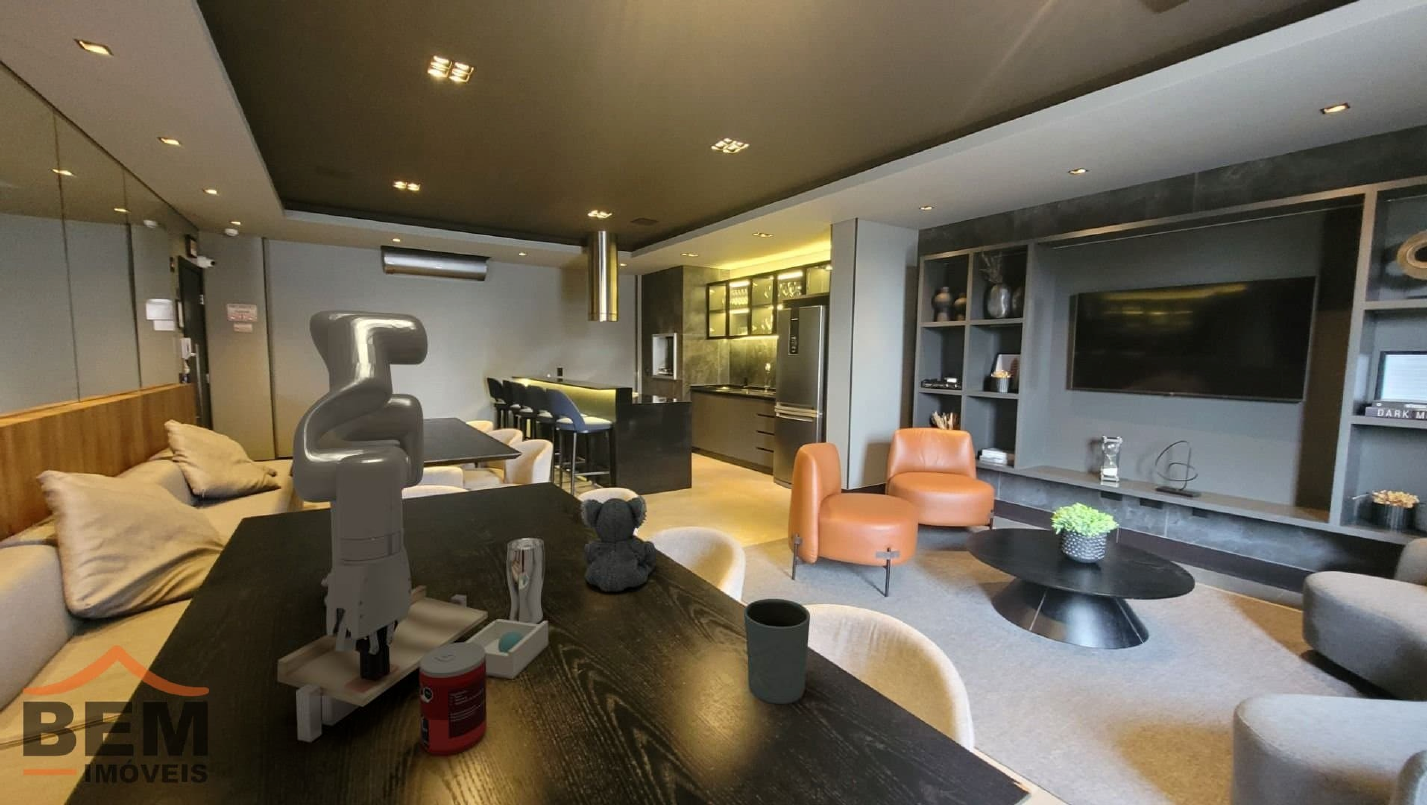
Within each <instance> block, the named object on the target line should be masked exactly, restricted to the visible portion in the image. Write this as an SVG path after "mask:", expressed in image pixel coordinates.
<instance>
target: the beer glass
mask: <svg viewBox="0 0 1427 805" xmlns="http://www.w3.org/2000/svg"><path fill="white" fill-rule="evenodd" d="M544 543H545V542H544V541H543V539H541V538H536V537H526V538H525V537H522V538H518V539H514V540H512V541H511V540H510V542H508V543H507V545H506V546H507V550H506V551H507V552H506V565H505V566H506V577H507V584H508V589H509V594H510V599H511V608H510V614H509V619H508V620H510V621H517V622H525V623H532V624H540V623H541V621H542V620H543V618H544V615H543V610H542V604H541V603H542V602H541V599H542V596H541V595H542V589H543V584H544V577H545V572H546V571H545V570H546V557H545V556H546V555H545V545H544Z"/></svg>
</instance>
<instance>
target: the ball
mask: <svg viewBox="0 0 1427 805" xmlns="http://www.w3.org/2000/svg"><path fill="white" fill-rule="evenodd" d="M522 639H523V637H522V636H521V635H520V634H519V633H517V632H508V633H506V634H504V635H503V636H502V637H501V639H500V641H499V644H498V649H499V652H503V653H508V651H509V650H510V649H512V648H513V647H514V646H515V645H516V644H517V643H518V642H520V641H521V640H522Z"/></svg>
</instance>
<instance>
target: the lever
mask: <svg viewBox="0 0 1427 805" xmlns="http://www.w3.org/2000/svg"><path fill="white" fill-rule="evenodd" d="M411 591H412V598H411V607H410V609H409V611H408V615H407V617H406V618H405V619H404V620H403V621H402V622H401V623H400V624H398V626H397V628H396V630H395V631H394V637H393V642H392V644H391V645H388V646H389V654H390V673H389V674H388V675H387V676H383V678H382V679H381V680H379V681H375V680H369V679H363V678H361V676H360V652H356V651H355V650H351V651H348V652H340V651H336V650H335V647H336V642H337V636H335V637H330V636H328V634H326V635H323V636H322V637H320V638H318V639H315V640H314V641H312V642H310V643H308V644H306V645H304V646H302V647H300V648H299V649H297V650H294V651H293V652H291V653H289V654H287V655H286V656H283V657H282V658H280V659H278V661H277V677H276V678H277V679H276V680H277V682H278V683H283V684H286V685H289V686H292V687H296V688H299V689H300V688H302V687H304V686H305V685H307V684H311V685H316V686H320V697H321V698H322V696H323V695H325V696H329V697H332V698H336V699H339V700H342V701H346V702H349V703H352V704H356V705H359V707H362V708H363V707H364V706H366V705H368V704H369V703H370V702H372V701H373V700H375V699H376V698H377V697H378V696H380V695H381V694H382V693H384V692H386V691H387V690H388V689H390V688H391V687H393V686H395V685H396V684H397V683H398V682H400V681H401V680H402V679H404V678H405V677H406V676H408V675H409V674H411V673H412V672H414V671H415V670H417V669H419V666H420V661H421V659H422V657H423V656H424V655H425V654H427V653H428V652H430V651H431V650H434V649H436V648H438V647H441V646H444V645H448V644H452V643H455V641H457V640H459V638H461V637H463V636H464V635H465V634H467V633H468V632H470V631H471V630H472V629H474V628H476V626H477V625H479V624H481V623H482V622H483V621H485V620H486V619H488V617H489V616H488V614H489V612H488V611H486V610H481V609H477V608H472V607H469V606H466V607H465V606H461V605H456V604H452V603H451V602H447V601H443V600H439V599H435V598H431V597H428V596H427V586H426V585H421V584H420V585H419V586H417V587H415V588H413V589H411ZM364 639H366V638H364ZM366 640H367V639H366Z"/></svg>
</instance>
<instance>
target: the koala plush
mask: <svg viewBox="0 0 1427 805" xmlns="http://www.w3.org/2000/svg"><path fill="white" fill-rule="evenodd" d="M579 509H580V510H581V513H580V516H581V520H582V521H583V524H584V525H586V526H587V527H588V528H591V529H592V528H594V530H595V534H596V535H597V537H598V538H599V540H595V541H594V540H591V541H588V543H585V545H584V550H583V551H584V557H585V563H586V564H585V565H586V571H585V573H584V579H585V580H586V582H587V583H589V585H594V586H597V587H598V588H600V590H602V592H608V593H610V592H612V593H613V592H622V591H623V590H624V589H627V588H636V587H639V586H641V585H642V584H645V583H646V582H647V580H648V576H649V575H650V574H651V573H652V571H653V570H654V569H655V566H656V563H657V558H658V554H657V551H656V550H657V549H656V547H655V543H654V542H653V541H650V540H646V541H644V542H643V543H641V541H640V540H638V538H637V537H636V536H633V535H634V533H635V530H636V529H637V530H638V529H640V527H641V526H642V525H643V524H645V522H644V521H646V520H647V519H646V518H647V517H648V516H647V515H646V514H647V512H648V510H647V503H646V500H645V498H644V497H642V495H637V496H636V497H632V498H631V499H629V500H625V499H622V498H619V497H612V498H609V499H607V500H606V501H604V502H601V501H598V500H597V499H593V498H592V499H591V498H588V499H585V500H583V501H582V502H581V504H580V508H579Z"/></svg>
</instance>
